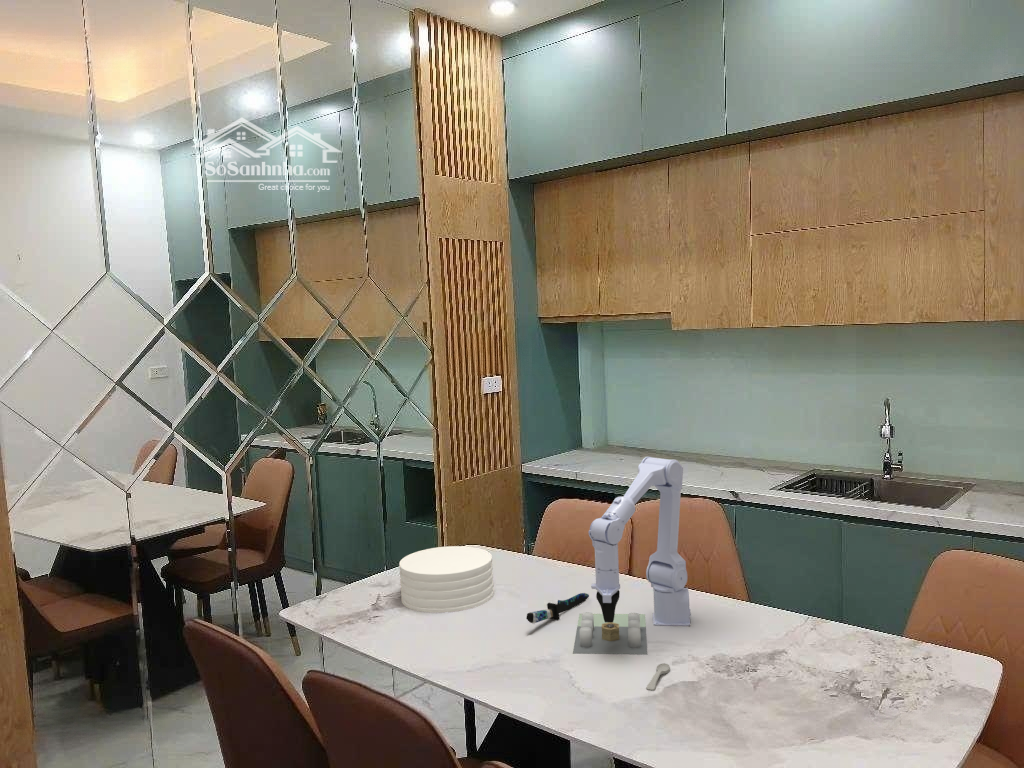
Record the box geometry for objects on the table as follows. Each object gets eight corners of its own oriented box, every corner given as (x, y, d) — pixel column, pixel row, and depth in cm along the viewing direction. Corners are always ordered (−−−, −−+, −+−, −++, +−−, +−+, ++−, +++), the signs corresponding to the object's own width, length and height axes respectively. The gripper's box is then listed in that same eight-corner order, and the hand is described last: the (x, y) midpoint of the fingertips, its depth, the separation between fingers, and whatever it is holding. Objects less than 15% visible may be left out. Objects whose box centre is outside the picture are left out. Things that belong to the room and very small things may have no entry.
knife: (530, 630, 200) (530, 613, 200) (520, 628, 202) (521, 611, 202) (596, 606, 224) (597, 591, 224) (587, 604, 226) (588, 589, 226)
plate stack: (443, 576, 254) (441, 541, 253) (512, 589, 237) (510, 553, 236) (382, 603, 231) (379, 565, 230) (453, 620, 214) (451, 579, 214)
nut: (619, 633, 199) (619, 621, 198) (619, 641, 194) (618, 629, 193) (602, 633, 199) (602, 621, 199) (601, 641, 194) (601, 629, 194)
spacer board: (645, 614, 211) (644, 599, 211) (647, 655, 185) (646, 638, 185) (579, 614, 214) (578, 599, 213) (572, 654, 188) (572, 637, 188)
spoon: (672, 669, 178) (671, 661, 177) (656, 696, 167) (656, 687, 167) (659, 667, 179) (659, 659, 179) (643, 693, 168) (643, 685, 168)
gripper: (591, 558, 197) (594, 610, 198) (589, 576, 183) (591, 632, 183) (619, 558, 196) (621, 610, 197) (619, 576, 181) (621, 633, 182)
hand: (609, 621), depth 190 cm, fingers closed
